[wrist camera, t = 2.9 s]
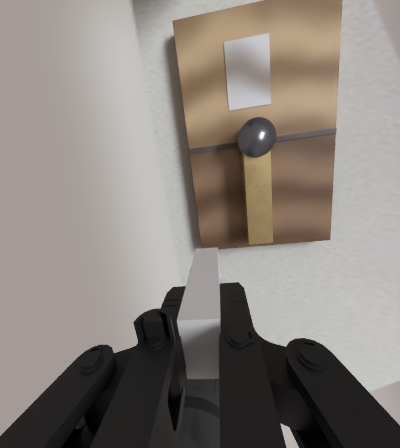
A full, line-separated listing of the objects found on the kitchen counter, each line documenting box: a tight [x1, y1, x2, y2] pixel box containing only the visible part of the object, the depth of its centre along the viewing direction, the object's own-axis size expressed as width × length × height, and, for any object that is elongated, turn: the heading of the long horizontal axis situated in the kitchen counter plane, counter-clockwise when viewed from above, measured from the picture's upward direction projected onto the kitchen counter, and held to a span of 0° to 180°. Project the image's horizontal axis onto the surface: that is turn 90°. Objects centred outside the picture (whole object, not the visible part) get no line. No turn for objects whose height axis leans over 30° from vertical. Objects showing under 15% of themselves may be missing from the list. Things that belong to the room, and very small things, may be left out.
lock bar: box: [236, 117, 276, 245], centre depth 23 cm, size 14×4×3 cm, turn 7°
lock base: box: [173, 0, 342, 249], centre depth 24 cm, size 28×18×2 cm, turn 7°
